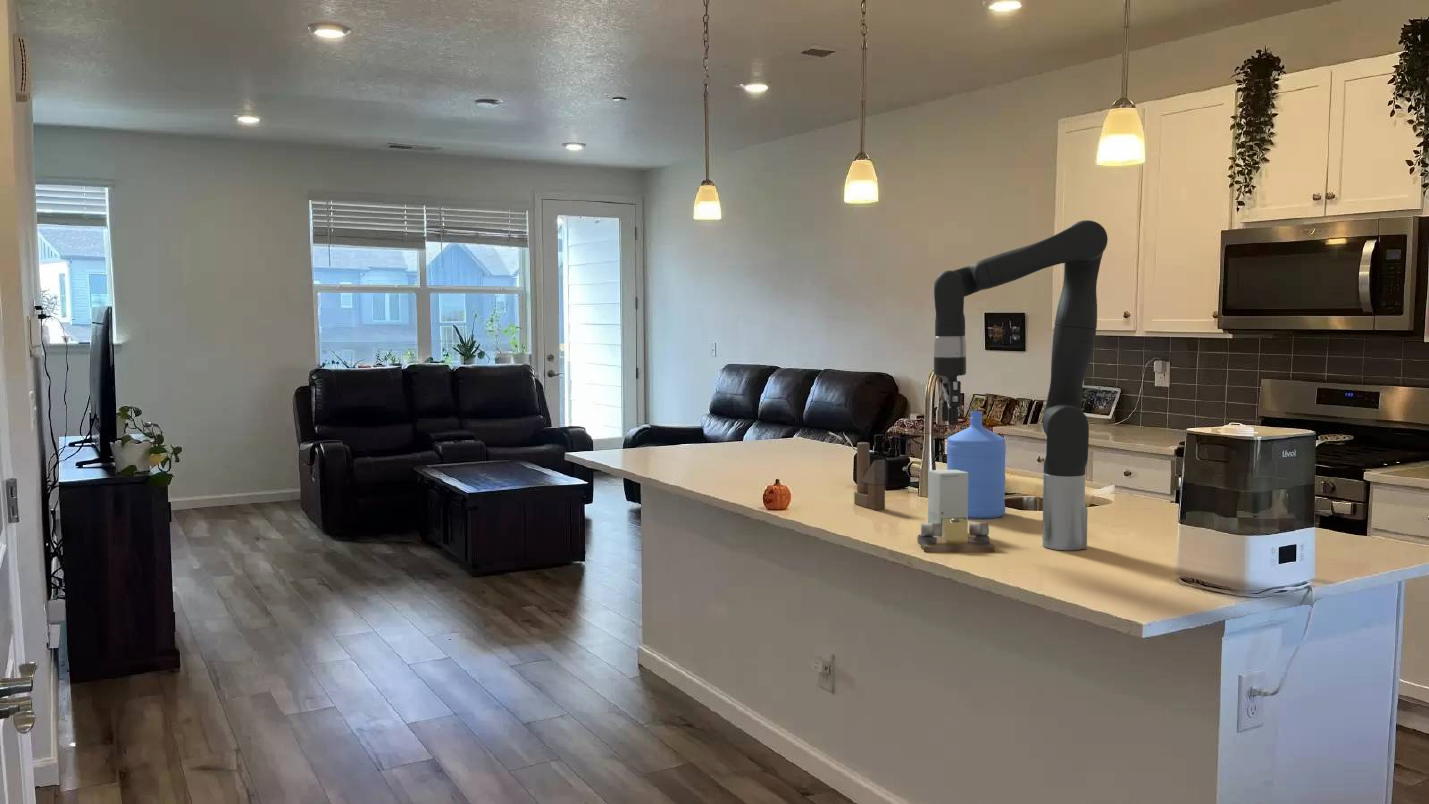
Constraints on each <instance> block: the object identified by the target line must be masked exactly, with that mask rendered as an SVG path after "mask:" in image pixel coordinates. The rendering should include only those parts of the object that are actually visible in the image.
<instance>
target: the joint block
mask: <svg viewBox="0 0 1429 804" xmlns="http://www.w3.org/2000/svg"><path fill="white" fill-rule="evenodd" d="M968 534H969V524H968V522H967V521H966V520H965V519H958V518H951V519H942V536H941V537H942V540H943V541H944V542H945V544H968V537H969V535H968Z"/></svg>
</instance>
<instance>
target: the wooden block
mask: <svg viewBox="0 0 1429 804" xmlns="http://www.w3.org/2000/svg"><path fill="white" fill-rule="evenodd" d="M870 447H871V446H870V442H864V441H863V442H862V441H860V442H857V444H856V491H854V493H853V495H854V499H853V500H854V503H853V504H855V505H856V506H859V507H864V508H867V509H869V510H872V509H873V511H881V509H882V510H885V509H886V486H885V485H886V459H876V460H873V462H872V463H871V464H870V461H871V460H870V457H871V455H870V453H871V452H870Z"/></svg>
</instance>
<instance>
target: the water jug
mask: <svg viewBox="0 0 1429 804" xmlns="http://www.w3.org/2000/svg"><path fill="white" fill-rule="evenodd" d="M969 414H970V417H969V419H970V423H969V424H970V425H969V426H968V427H967V428H964V429H963V430H961V431H959V432H958V431H957V432H956V433H954V434H952V435H950V436H948V437H947V439H946V470H960V471H964V472H968V519H973V520H974V519H975V520H976V519H977V520H987V519H995V518H1001V517H1003V516H1004V515H1005V513H1006V505H1005V501H1006V500H1005V497H1006V496H1005V493H1006V492H1005V489H1006V488H1005V486H1006V452H1007V446H1006V439H1005V438H1004V436H1001V435H999V434H997V433H995V432H993V431H991V430H990V429H987V428H985V427H984V426H983V411H977V410H976V411H970V412H969Z"/></svg>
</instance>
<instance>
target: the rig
mask: <svg viewBox="0 0 1429 804" xmlns="http://www.w3.org/2000/svg"><path fill="white" fill-rule="evenodd" d="M989 533H990V526H989V523H988V522H969V524H968V534H969V536H968V544H945V542H944V541H943V540H942V524H941V523H928V522H927V523H925V522H924V523H923V522H921V523H920V534H918V535H917V538H916V539H917V541H918V542H917V544H918V545H919V544H920V545H921V546H920V545H919V546H920V548H921V547H922V548H921V549H922V551H923V550H924V551H923V552H924V553H995V552H996V551H995V545H994V544H992V542H991V541H990V537H989V535H990V534H989Z"/></svg>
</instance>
